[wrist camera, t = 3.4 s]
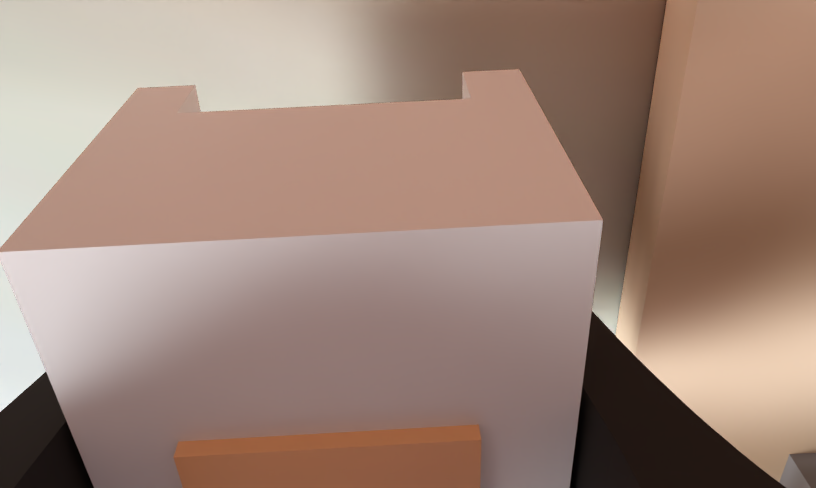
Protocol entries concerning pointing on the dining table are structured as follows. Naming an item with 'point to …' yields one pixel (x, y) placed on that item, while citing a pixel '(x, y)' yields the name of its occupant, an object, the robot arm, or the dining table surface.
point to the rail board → (732, 227)
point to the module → (317, 293)
